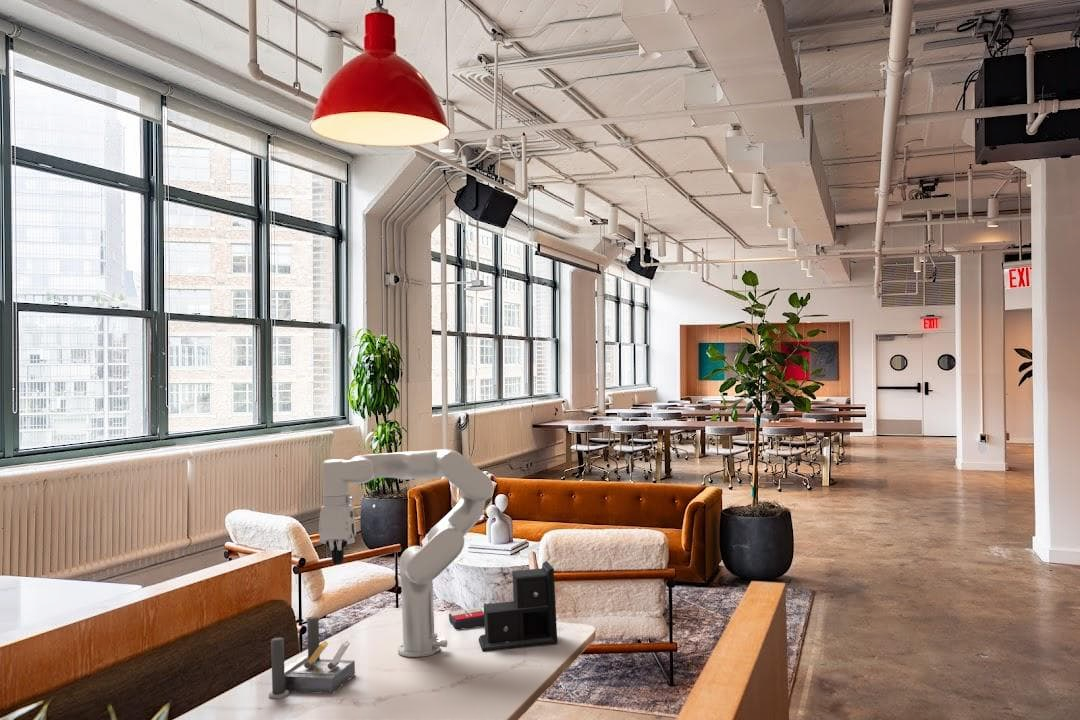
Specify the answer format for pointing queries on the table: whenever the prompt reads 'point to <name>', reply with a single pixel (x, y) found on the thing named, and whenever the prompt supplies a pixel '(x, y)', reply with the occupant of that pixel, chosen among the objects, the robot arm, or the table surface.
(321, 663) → the breaker panel
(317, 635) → the post far
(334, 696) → the table surface
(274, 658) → the post near
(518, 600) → the black drawer organizer
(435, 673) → the table surface
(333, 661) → the paddle white
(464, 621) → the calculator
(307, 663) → the paddle amber
